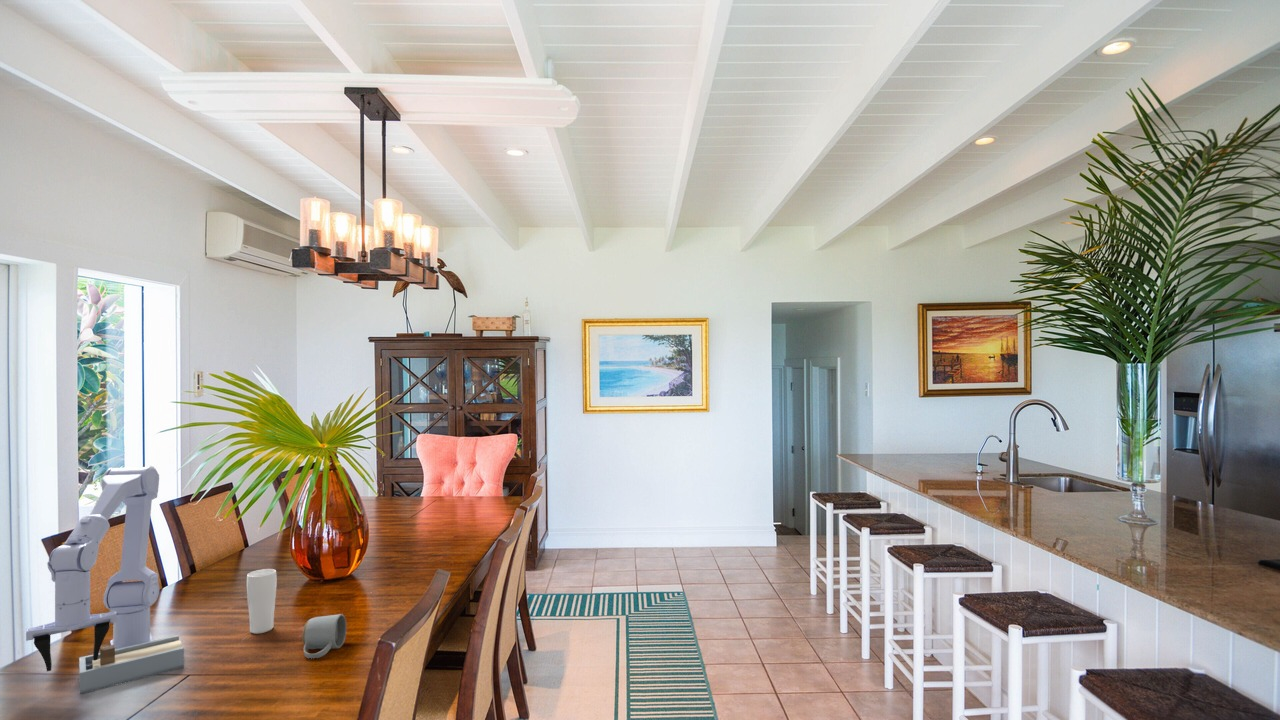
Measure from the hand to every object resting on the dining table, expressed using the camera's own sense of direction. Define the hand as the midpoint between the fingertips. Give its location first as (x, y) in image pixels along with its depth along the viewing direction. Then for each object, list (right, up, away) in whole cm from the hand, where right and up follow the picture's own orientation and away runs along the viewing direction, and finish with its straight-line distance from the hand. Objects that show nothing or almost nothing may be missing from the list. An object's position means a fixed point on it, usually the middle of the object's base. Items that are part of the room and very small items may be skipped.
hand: (72, 664), depth 139 cm
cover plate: (+8, -2, +7) cm, 11 cm away
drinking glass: (+23, -5, +30) cm, 38 cm away
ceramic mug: (+45, -5, +18) cm, 49 cm away
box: (+8, -5, +7) cm, 11 cm away
